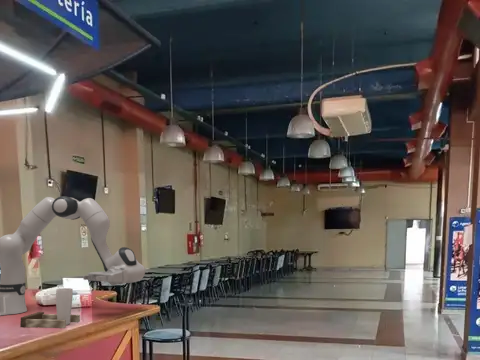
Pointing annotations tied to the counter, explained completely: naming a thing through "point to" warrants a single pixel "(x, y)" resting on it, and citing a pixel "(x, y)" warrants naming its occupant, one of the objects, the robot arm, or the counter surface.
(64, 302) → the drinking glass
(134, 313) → the counter surface
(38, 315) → the brown compartment tray
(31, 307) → the counter surface
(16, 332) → the counter surface
